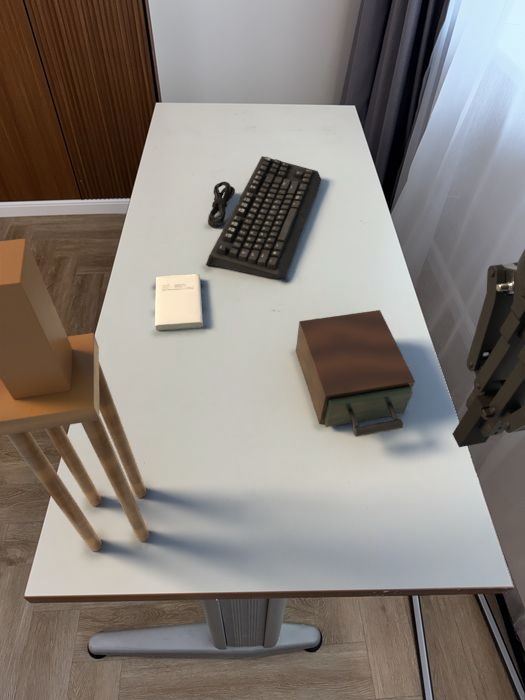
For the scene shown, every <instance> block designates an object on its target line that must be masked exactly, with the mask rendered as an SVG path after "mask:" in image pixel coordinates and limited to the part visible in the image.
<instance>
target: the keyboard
mask: <svg viewBox="0 0 525 700" xmlns="http://www.w3.org/2000/svg"><path fill="white" fill-rule="evenodd" d="M321 183H322V178H321V176H320V173H319V171H318V170H316V169H312V168H307V167H305V166H300V165H297V164H293V163H289V162H285V161H281V160H280V159H277V158H272V157H269V156H263V155H262V156H260V158H259V160H258V162H257V165H256V167H255V168H254V170H253V171H252V173H251V176H250V177H249V180H248V182H247V184H246V185H245V187H244V189H243V191H242V193H241V195H240V197H239V199H238V202H237V204H236V205H235V206H234V208H233V210H232V212H231V214H230V216H229V217H228V219H227V221H226V223H225V225H224V227H223V228H222V231H221V232H220V235H219V236H218V237H217V240H216V241H215V244H214V246H213V248H212V250H211V252H210V253H209V255H208V257H207V260H206V263H205V266H207V267H209V266H214V267H219V268H224V269H228V270H233V271H238V272H241V273H246V274H252V275H256V276H260V277H265V278H269V279H276V280H277V279H280V278H281V279H286V277H287V276H288V274H289V273H288V272H289V270H290V267H291V264H292V261H293V258H294V256H295V253H296V251H297V248H298V245H299V243H300V239H301V237H302V234H303V231H304V228H305V226H306V223H307V220H308V218H309V215H310V212H311V209H312V207H313V204H314V202H315V200H316V197H317V194H318V191H319V188H320V186H321ZM222 186H224V188H222V189H221V191H220V189H219V188H221V187H222ZM235 193H236V189H235V187H233V186H232V185H231V184H230V182H228V181H221V182H219V183H216V184H215V185H214V187H213V195H214V197H213V202H212V204H211V207H212V208H211V210H210V213H209V214H208V219H207V224H208V226H209V227H211V228H217V227H220V226H221V225H223V223H224V222H225V220H226V212H227V211H226V208H227V207H228V202H229V201H230V200H231V199H232V198H233V196H234V195H235ZM218 213H219V215H217V214H218ZM216 215H217V216H216Z"/></svg>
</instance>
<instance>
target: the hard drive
mask: <svg viewBox="0 0 525 700" xmlns="http://www.w3.org/2000/svg"><path fill="white" fill-rule="evenodd" d="M154 304H155V305H154V306H155V307H154V308H155V309H154V310H155V311H154V312H155V313H154V314H155V315H154V327H155V330H156V331H159V332H160V331H176V330H189V329H199V328H203V327H204V319H203V317H204V316H203V306H202V305H203V304H202V287H201V274H199V273H192V274H191V273H190V274H175V275H159V276H156V277H155V303H154Z"/></svg>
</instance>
